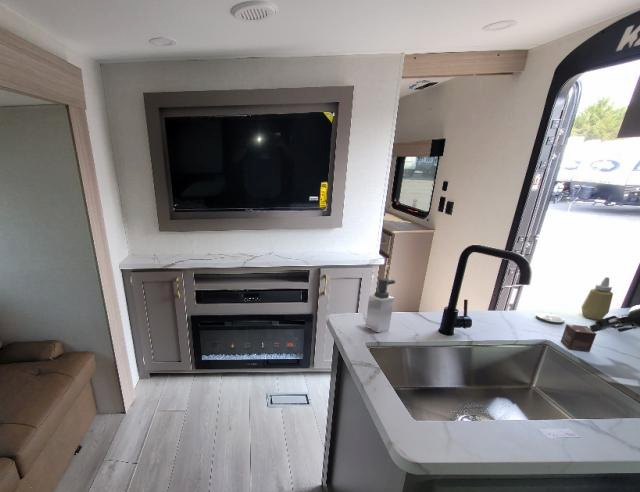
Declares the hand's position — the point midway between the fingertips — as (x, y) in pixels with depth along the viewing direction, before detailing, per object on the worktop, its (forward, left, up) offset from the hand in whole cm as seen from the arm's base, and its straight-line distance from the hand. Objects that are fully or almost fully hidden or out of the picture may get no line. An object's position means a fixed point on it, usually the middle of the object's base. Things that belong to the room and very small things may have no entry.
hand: (605, 329), depth 109 cm
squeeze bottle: (-14, -38, -11) cm, 43 cm away
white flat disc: (+3, -29, -11) cm, 32 cm away
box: (+3, -6, -11) cm, 13 cm away
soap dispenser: (+69, +4, -11) cm, 70 cm away
